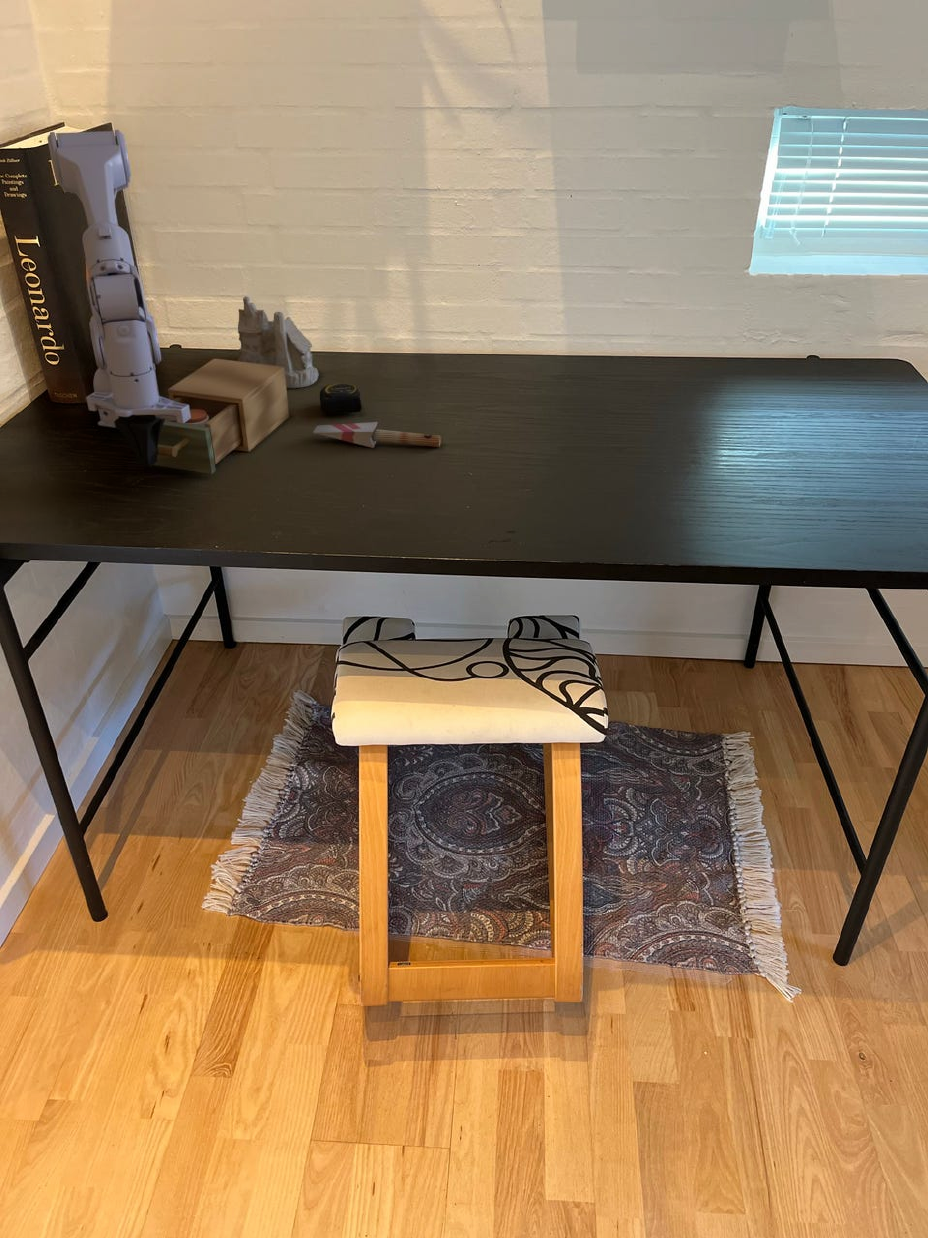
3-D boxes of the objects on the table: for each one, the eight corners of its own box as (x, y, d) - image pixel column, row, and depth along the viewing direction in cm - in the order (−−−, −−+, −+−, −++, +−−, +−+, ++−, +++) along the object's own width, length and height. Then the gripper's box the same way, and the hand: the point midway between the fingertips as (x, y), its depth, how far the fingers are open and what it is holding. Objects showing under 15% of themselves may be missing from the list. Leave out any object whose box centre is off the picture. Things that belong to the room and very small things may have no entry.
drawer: (194, 488, 135) (187, 444, 131) (124, 477, 137) (115, 433, 133) (254, 437, 149) (249, 396, 145) (189, 428, 152) (182, 387, 148)
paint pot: (192, 437, 146) (187, 406, 143) (217, 441, 145) (213, 410, 142) (177, 449, 143) (171, 417, 140) (203, 452, 142) (198, 421, 139)
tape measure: (320, 419, 158) (319, 397, 156) (320, 403, 163) (319, 382, 161) (362, 417, 159) (361, 396, 156) (360, 402, 164) (359, 381, 162)
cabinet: (248, 452, 147) (242, 399, 142) (176, 441, 150) (167, 389, 145) (289, 416, 158) (284, 366, 154) (221, 407, 161) (214, 358, 156)
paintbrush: (317, 415, 151) (442, 428, 150) (318, 431, 153) (441, 444, 151) (311, 424, 148) (438, 438, 146) (312, 441, 149) (437, 454, 148)
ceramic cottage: (300, 391, 167) (292, 303, 159) (220, 382, 172) (209, 296, 165) (341, 368, 180) (335, 285, 172) (265, 360, 185) (257, 279, 177)
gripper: (64, 372, 123) (86, 468, 131) (163, 385, 120) (180, 482, 128) (96, 355, 129) (116, 447, 137) (191, 367, 126) (206, 461, 133)
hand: (149, 463), depth 133 cm, fingers closed
